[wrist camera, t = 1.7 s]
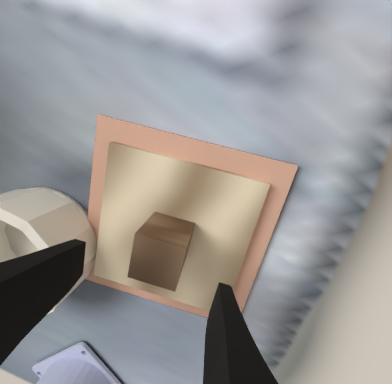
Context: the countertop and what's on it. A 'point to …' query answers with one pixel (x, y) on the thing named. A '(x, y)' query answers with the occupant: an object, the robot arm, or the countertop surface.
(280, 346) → the countertop surface
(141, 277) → the lid
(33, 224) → the bowl
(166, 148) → the mat
